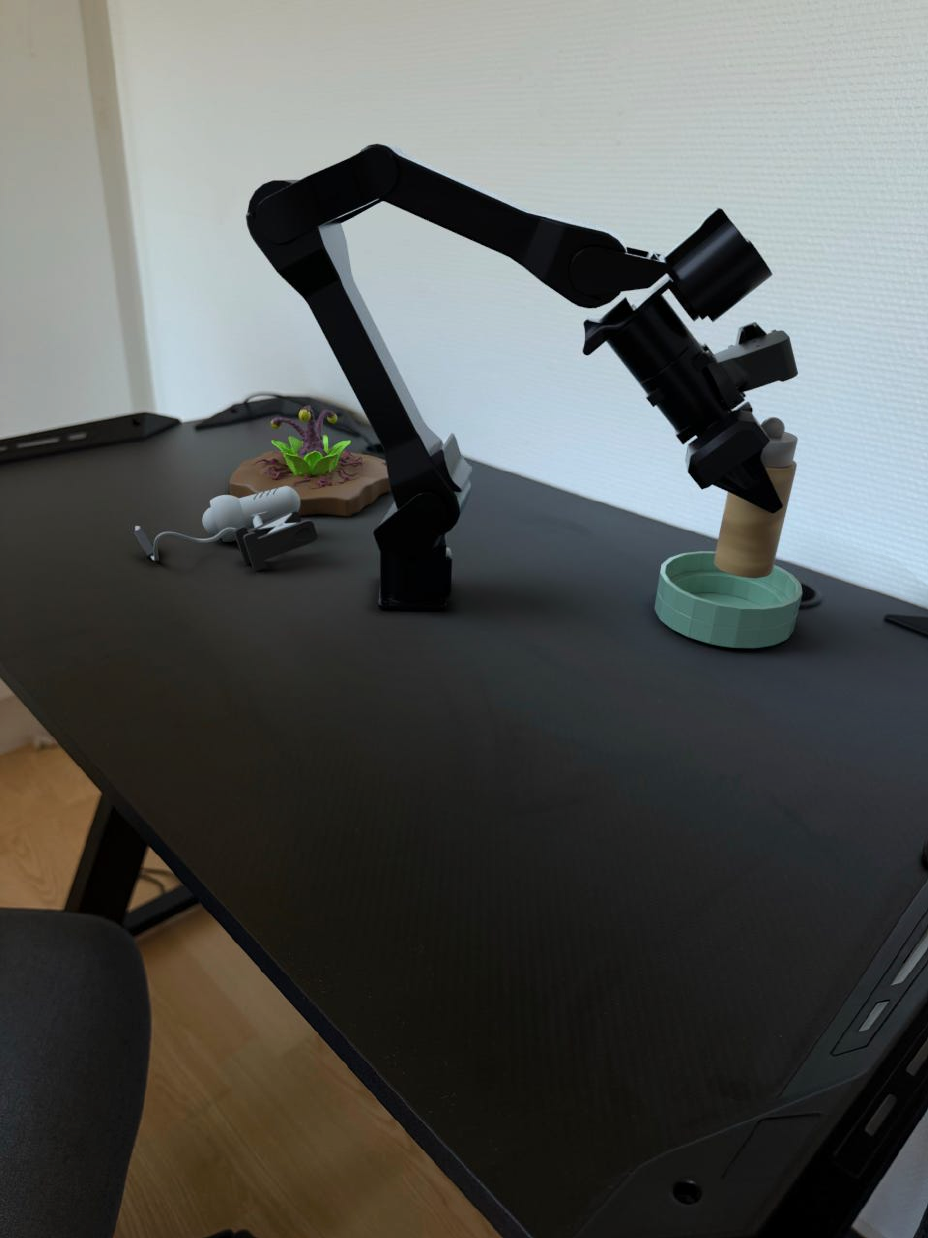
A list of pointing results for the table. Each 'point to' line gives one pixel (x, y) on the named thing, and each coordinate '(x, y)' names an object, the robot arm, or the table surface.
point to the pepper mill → (758, 512)
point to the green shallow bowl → (726, 603)
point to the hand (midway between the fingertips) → (773, 499)
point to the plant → (314, 471)
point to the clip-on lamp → (249, 526)
